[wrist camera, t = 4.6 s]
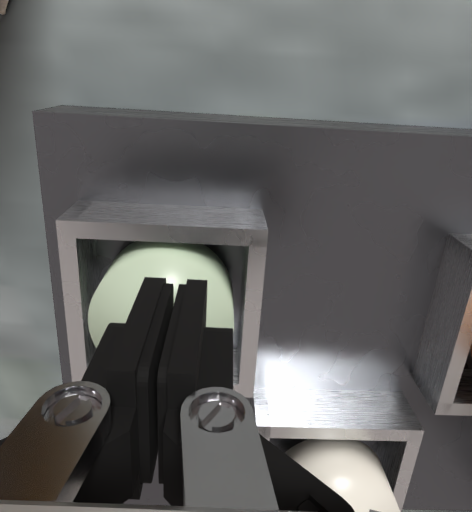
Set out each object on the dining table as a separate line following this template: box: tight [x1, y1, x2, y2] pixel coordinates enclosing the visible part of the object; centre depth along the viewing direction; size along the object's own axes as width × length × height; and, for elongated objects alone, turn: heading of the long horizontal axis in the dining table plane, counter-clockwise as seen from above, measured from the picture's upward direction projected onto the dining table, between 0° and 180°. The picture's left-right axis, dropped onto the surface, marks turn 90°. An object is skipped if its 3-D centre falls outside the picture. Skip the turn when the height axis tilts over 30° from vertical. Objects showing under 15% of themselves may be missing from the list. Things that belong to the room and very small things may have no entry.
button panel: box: [32, 105, 472, 512], centre depth 17 cm, size 16×20×4 cm
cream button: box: [285, 439, 400, 512], centre depth 16 cm, size 4×4×2 cm
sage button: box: [88, 241, 234, 348], centre depth 14 cm, size 4×4×2 cm
